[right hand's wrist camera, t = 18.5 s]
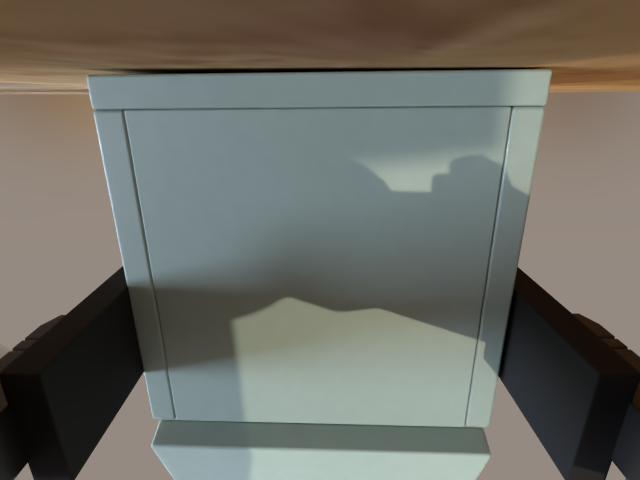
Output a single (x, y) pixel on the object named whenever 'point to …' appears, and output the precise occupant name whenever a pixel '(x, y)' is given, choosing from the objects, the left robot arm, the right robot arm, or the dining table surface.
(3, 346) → the left robot arm
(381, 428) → the lid
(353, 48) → the dining table surface
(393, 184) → the chest
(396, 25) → the dining table surface
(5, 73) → the dining table surface
